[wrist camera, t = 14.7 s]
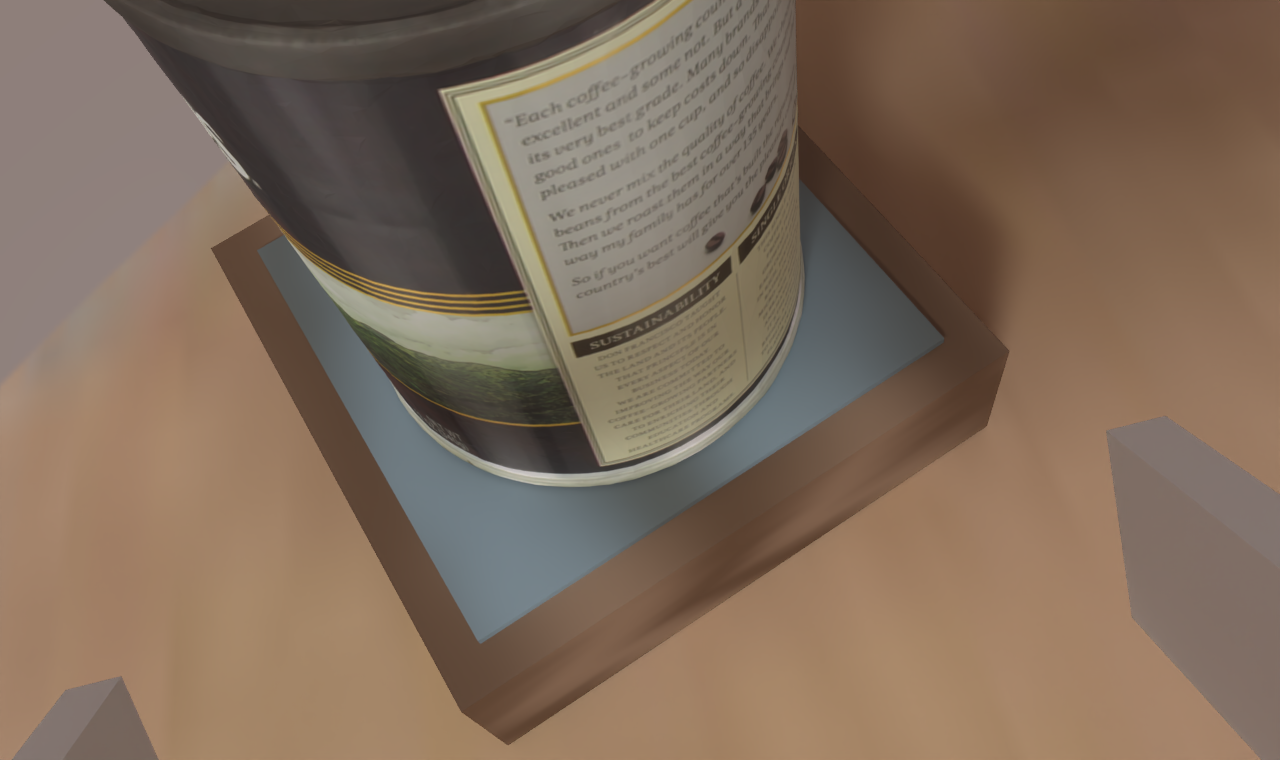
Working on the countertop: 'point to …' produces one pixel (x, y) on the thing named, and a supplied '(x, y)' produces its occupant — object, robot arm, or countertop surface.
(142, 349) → the countertop surface
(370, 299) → the coffee can
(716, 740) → the countertop surface
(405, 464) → the walnut tray
